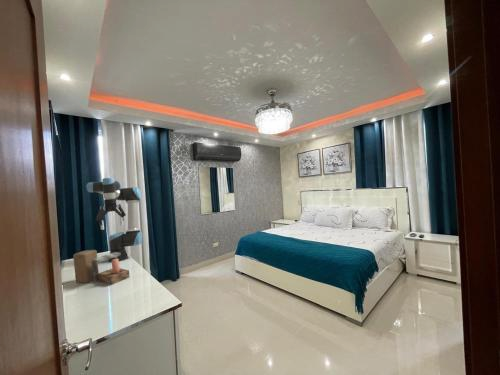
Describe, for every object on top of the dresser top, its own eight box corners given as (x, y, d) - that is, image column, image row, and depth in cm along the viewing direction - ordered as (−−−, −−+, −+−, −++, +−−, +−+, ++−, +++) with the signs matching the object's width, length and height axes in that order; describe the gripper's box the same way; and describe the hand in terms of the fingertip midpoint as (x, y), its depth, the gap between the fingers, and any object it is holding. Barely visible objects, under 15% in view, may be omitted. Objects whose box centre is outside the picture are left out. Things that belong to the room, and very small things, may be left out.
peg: (118, 278, 156) (116, 258, 155) (121, 278, 154) (119, 259, 153) (112, 280, 152) (110, 260, 152) (115, 281, 150) (113, 261, 150)
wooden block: (87, 283, 151) (84, 254, 150) (75, 282, 153) (72, 254, 152) (99, 276, 160) (97, 249, 160) (88, 276, 162) (85, 249, 162)
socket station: (116, 272, 167) (115, 252, 166) (132, 276, 157) (130, 254, 157) (93, 281, 153) (91, 259, 152) (108, 286, 143) (106, 262, 143)
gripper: (123, 197, 175) (125, 224, 175) (88, 200, 153) (90, 231, 154) (129, 197, 171) (131, 224, 172) (93, 200, 149) (96, 231, 150)
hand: (112, 227), depth 163 cm, fingers open, 13 cm apart
